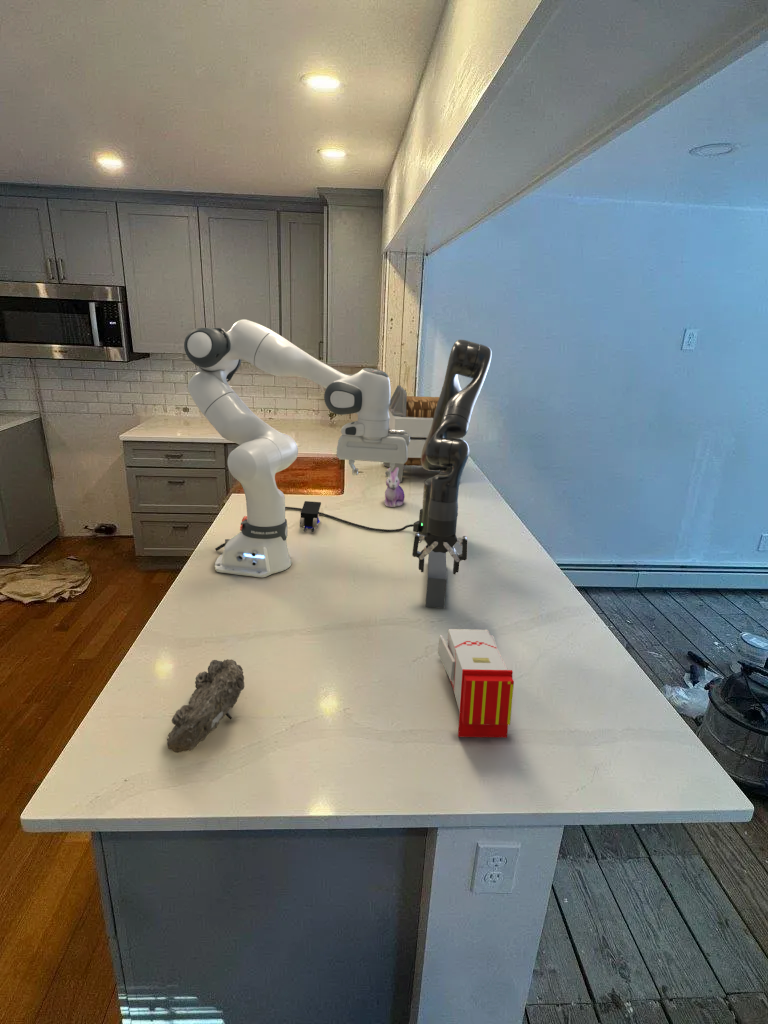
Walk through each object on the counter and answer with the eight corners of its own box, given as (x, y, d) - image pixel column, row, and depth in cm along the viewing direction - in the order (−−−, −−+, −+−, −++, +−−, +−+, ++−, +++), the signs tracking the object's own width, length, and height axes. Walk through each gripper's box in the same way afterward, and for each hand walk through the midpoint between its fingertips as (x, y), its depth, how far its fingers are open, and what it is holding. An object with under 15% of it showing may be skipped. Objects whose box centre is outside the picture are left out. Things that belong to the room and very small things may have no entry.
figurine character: (318, 538, 196) (321, 518, 210) (317, 518, 193) (321, 499, 206) (298, 537, 196) (303, 517, 210) (298, 517, 193) (303, 499, 206)
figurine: (389, 509, 224) (391, 472, 218) (377, 501, 232) (379, 465, 227) (410, 506, 228) (412, 470, 223) (398, 498, 236) (399, 463, 231)
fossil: (192, 660, 117) (244, 628, 112) (224, 691, 120) (276, 661, 115) (142, 746, 98) (202, 712, 93) (182, 779, 101) (242, 748, 96)
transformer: (382, 463, 289) (386, 382, 275) (445, 464, 293) (451, 384, 279) (390, 482, 257) (394, 392, 243) (460, 483, 261) (468, 394, 247)
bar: (444, 608, 151) (446, 579, 148) (425, 606, 152) (427, 577, 149) (443, 566, 176) (445, 540, 173) (427, 565, 177) (429, 539, 174)
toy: (488, 613, 130) (523, 677, 101) (484, 667, 133) (517, 744, 104) (435, 612, 130) (455, 676, 101) (432, 666, 133) (451, 743, 103)
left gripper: (410, 428, 161) (408, 475, 165) (339, 424, 162) (338, 470, 167) (409, 433, 155) (406, 481, 159) (335, 428, 156) (335, 476, 161)
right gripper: (469, 512, 149) (464, 568, 154) (415, 508, 150) (412, 564, 155) (471, 521, 142) (465, 580, 147) (414, 517, 143) (410, 576, 148)
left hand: (371, 476), depth 163 cm, fingers open, 8 cm apart
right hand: (438, 572), depth 151 cm, fingers open, 8 cm apart
